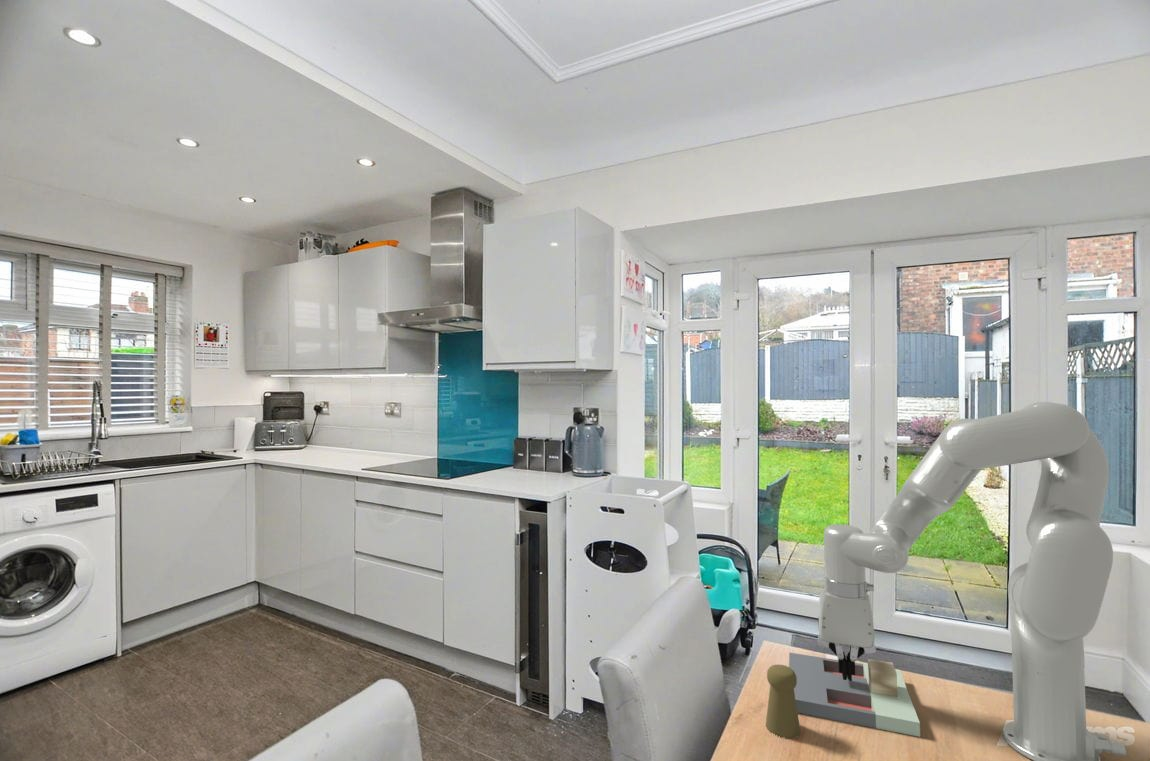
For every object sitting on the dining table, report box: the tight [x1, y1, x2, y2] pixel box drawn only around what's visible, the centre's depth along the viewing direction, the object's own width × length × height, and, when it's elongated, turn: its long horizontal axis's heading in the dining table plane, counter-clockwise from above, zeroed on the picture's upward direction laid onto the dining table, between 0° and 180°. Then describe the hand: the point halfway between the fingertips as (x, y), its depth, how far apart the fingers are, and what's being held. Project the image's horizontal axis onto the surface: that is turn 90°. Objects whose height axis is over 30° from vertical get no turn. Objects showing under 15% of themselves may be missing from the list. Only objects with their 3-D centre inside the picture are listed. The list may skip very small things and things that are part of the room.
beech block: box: [867, 658, 897, 697], centre depth 109 cm, size 4×4×4 cm
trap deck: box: [788, 652, 921, 738], centre depth 111 cm, size 22×20×2 cm
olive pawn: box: [765, 664, 801, 739], centre depth 101 cm, size 6×6×11 cm
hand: (846, 677), depth 111 cm, fingers closed
